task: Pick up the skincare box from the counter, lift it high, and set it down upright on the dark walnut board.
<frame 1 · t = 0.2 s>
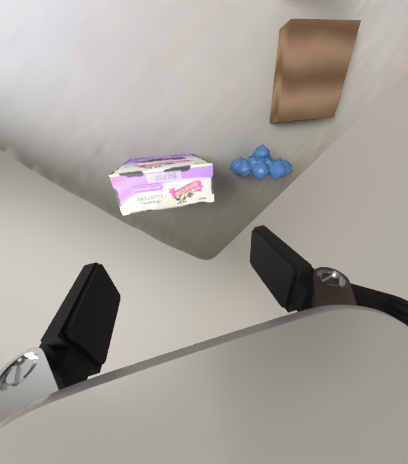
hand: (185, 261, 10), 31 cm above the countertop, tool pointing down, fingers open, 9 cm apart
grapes: (246, 159, 39), on the countertop
walnut board: (304, 79, 34), on the countertop
candy box: (164, 169, 36), on the countertop
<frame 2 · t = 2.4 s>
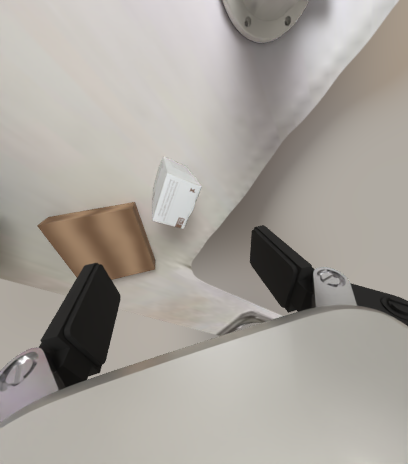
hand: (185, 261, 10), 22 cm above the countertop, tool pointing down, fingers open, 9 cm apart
walnut board: (109, 241, 32), on the countertop
skincare box: (170, 178, 28), on the countertop
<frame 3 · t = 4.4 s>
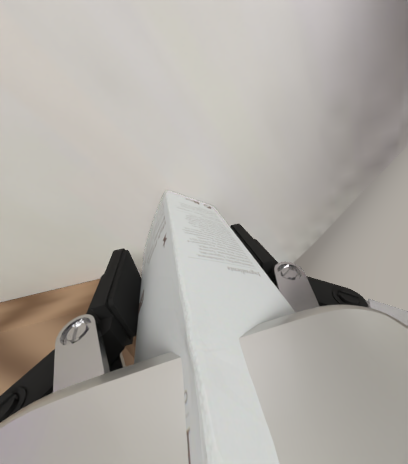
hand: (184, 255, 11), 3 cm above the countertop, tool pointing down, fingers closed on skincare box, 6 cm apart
walnut board: (63, 341, 17), on the countertop
skincare box: (179, 230, 14), on the countertop, touching gripper
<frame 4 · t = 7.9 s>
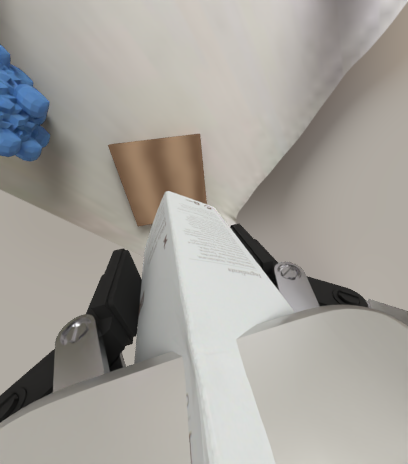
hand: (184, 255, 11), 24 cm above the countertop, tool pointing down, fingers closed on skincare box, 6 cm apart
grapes: (47, 110, 23), on the countertop
walnut board: (165, 180, 31), on the countertop
skincare box: (179, 230, 14), point 21 cm above the countertop, touching gripper
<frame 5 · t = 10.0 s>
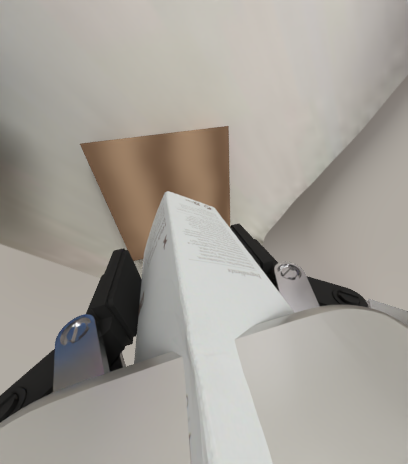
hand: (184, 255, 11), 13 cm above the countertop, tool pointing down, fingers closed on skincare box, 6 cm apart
walnut board: (172, 195, 21), on the countertop
skincare box: (179, 231, 14), point 10 cm above the countertop, touching gripper
when the fingers open (7 cm above the countertop, at t = 11.7 s): skincare box stays where it is, resting on walnut board.
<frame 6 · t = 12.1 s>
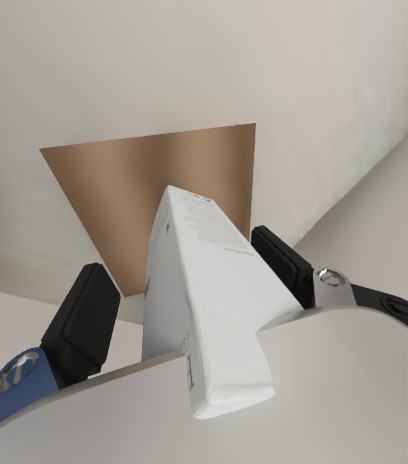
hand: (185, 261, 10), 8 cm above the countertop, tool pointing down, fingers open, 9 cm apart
walnut board: (175, 213, 17), on the countertop
skincare box: (180, 223, 14), point 3 cm above the countertop, touching walnut board
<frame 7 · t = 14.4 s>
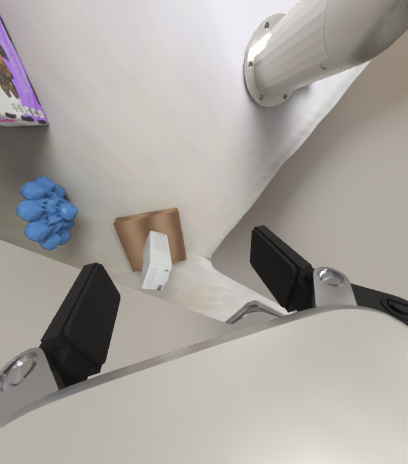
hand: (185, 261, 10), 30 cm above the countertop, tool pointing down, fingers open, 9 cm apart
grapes: (71, 201, 33), on the countertop
walnut board: (154, 237, 42), on the countertop
skincare box: (155, 242, 39), point 3 cm above the countertop, touching walnut board
candy box: (3, 69, 23), on the countertop
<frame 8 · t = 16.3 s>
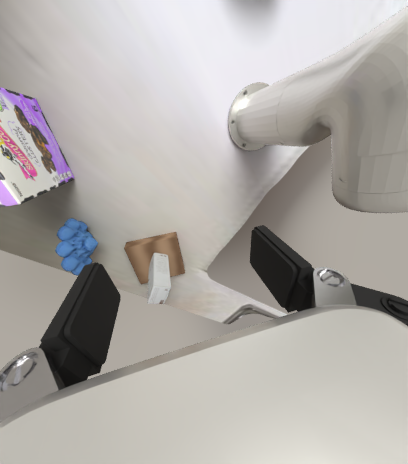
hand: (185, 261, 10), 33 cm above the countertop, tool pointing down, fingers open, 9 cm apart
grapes: (91, 232, 41), on the countertop
walnut board: (157, 255, 50), on the countertop
skincare box: (158, 261, 47), point 3 cm above the countertop, touching walnut board
candy box: (42, 144, 31), on the countertop
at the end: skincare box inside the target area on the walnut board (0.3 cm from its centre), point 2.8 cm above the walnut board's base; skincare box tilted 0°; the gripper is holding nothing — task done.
